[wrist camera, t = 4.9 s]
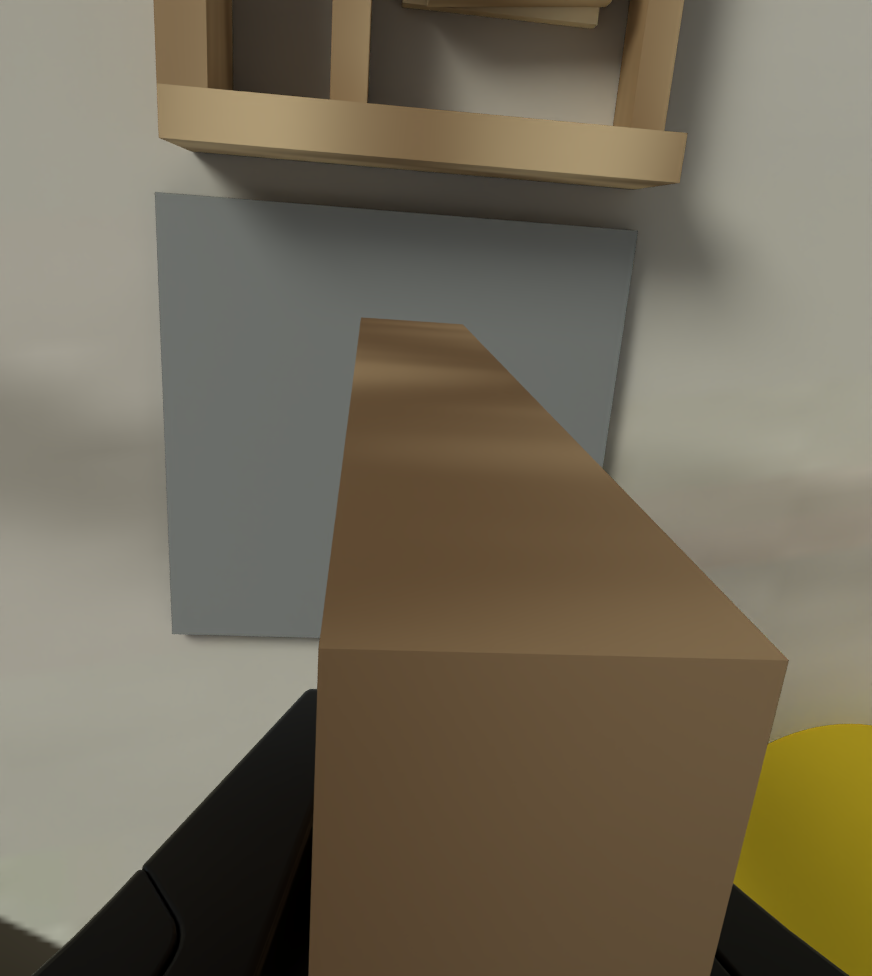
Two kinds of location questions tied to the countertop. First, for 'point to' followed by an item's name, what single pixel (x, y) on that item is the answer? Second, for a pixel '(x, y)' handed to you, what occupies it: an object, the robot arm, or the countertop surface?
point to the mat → (340, 370)
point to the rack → (407, 130)
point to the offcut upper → (518, 3)
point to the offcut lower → (523, 13)
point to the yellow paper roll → (815, 841)
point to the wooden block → (517, 695)
